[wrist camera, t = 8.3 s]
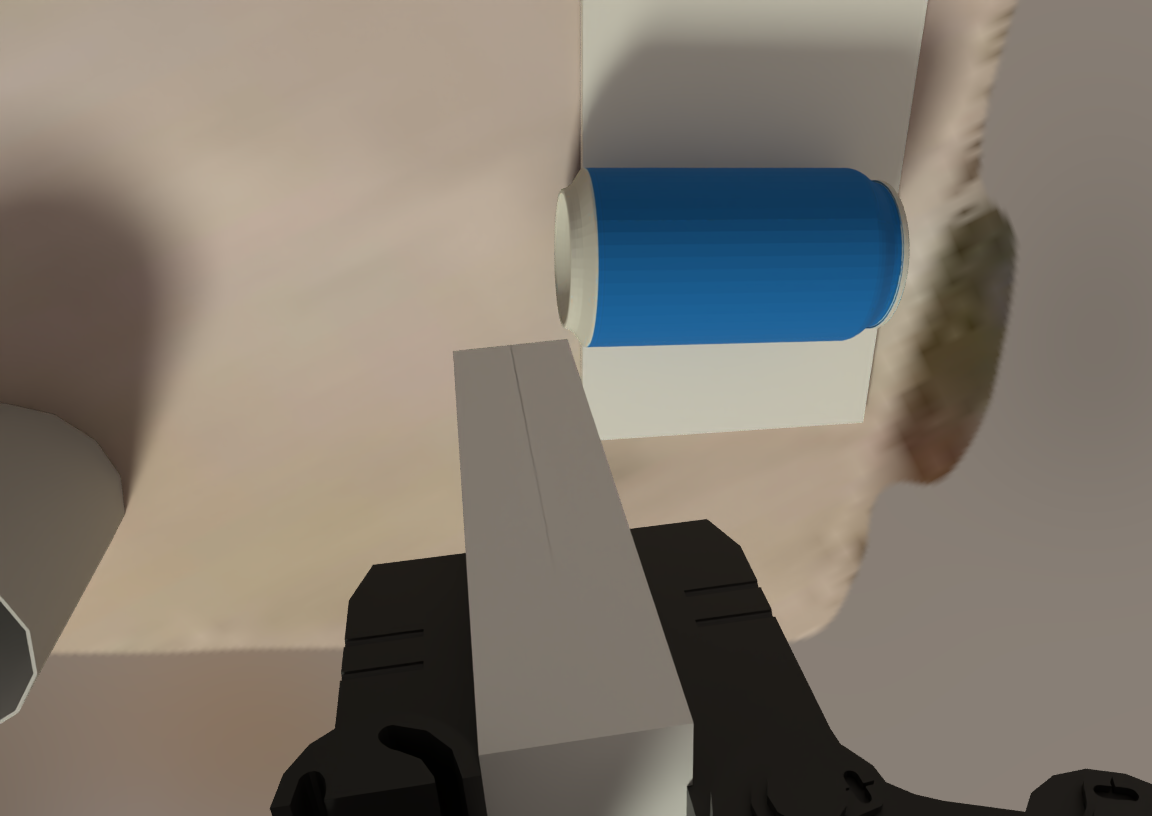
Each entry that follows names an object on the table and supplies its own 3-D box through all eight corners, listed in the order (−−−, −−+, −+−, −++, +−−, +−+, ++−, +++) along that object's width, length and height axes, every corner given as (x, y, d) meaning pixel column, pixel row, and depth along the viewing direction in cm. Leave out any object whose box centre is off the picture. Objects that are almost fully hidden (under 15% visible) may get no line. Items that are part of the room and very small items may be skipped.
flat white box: (580, -132, 32) (582, -133, 31) (939, -130, 33) (947, -131, 33) (580, 434, 42) (582, 441, 41) (857, 416, 43) (862, 422, 43)
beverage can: (548, 274, 38) (825, 270, 40) (565, 384, 34) (876, 375, 36) (558, 133, 34) (871, 134, 35) (579, 238, 29) (936, 235, 31)
